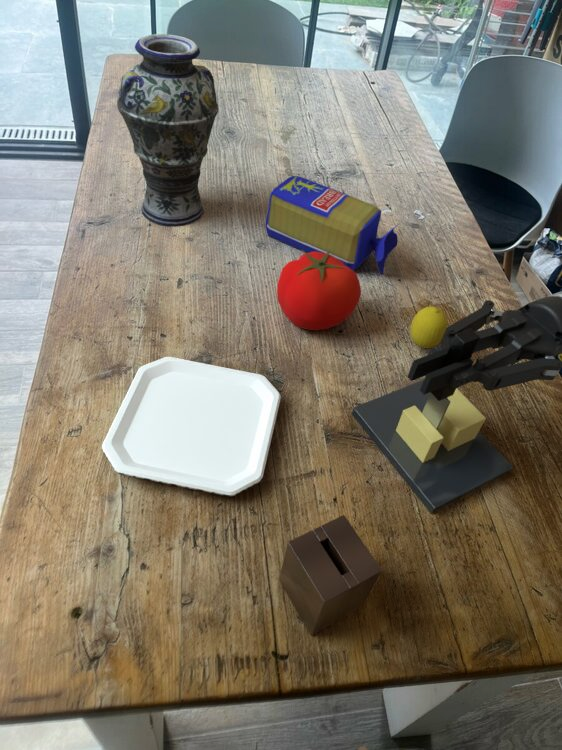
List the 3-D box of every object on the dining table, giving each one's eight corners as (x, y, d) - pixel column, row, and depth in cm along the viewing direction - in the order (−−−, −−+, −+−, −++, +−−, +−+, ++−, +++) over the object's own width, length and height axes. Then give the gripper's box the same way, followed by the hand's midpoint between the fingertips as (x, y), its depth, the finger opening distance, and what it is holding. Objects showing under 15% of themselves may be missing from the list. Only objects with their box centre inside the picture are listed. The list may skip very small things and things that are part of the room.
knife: (435, 443, 79) (484, 341, 65) (421, 450, 78) (468, 347, 64) (421, 428, 81) (466, 324, 66) (408, 434, 80) (450, 330, 65)
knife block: (364, 605, 65) (382, 570, 58) (311, 636, 62) (324, 602, 55) (329, 553, 68) (343, 514, 62) (278, 579, 66) (287, 541, 59)
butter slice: (434, 457, 78) (444, 437, 74) (422, 463, 77) (432, 443, 74) (406, 425, 81) (414, 405, 78) (395, 430, 80) (403, 410, 77)
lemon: (416, 361, 93) (431, 323, 87) (398, 338, 96) (411, 300, 90) (444, 353, 94) (461, 316, 89) (425, 331, 98) (440, 294, 92)
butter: (474, 438, 81) (486, 418, 78) (448, 451, 79) (458, 431, 76) (446, 408, 84) (456, 387, 81) (420, 419, 82) (429, 399, 79)
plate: (283, 388, 86) (285, 378, 84) (255, 509, 71) (257, 500, 70) (147, 361, 86) (146, 350, 85) (93, 475, 72) (91, 465, 71)
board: (509, 473, 79) (513, 467, 78) (431, 514, 73) (434, 508, 72) (425, 384, 89) (428, 377, 88) (351, 414, 84) (353, 407, 82)
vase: (113, 197, 116) (94, 30, 94) (191, 181, 123) (190, 22, 102) (148, 241, 107) (136, 68, 85) (230, 220, 114) (238, 56, 93)
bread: (285, 214, 118) (291, 167, 110) (396, 261, 111) (411, 213, 103) (258, 236, 112) (263, 187, 104) (374, 287, 105) (388, 238, 97)
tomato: (280, 288, 102) (288, 231, 93) (356, 303, 101) (370, 247, 93) (266, 333, 93) (273, 276, 85) (348, 350, 93) (363, 294, 84)
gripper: (588, 380, 74) (450, 444, 65) (506, 311, 82) (373, 358, 73) (619, 338, 69) (473, 401, 59) (528, 267, 77) (388, 313, 67)
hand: (419, 377), depth 66 cm, fingers closed on knife, 2 cm apart
